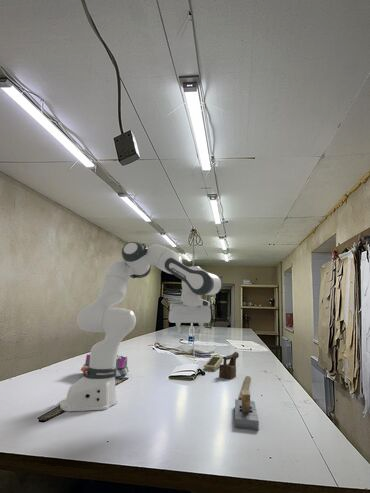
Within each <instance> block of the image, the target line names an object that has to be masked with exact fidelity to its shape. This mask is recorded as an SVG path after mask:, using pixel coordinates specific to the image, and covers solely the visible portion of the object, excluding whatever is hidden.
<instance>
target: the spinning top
mask: <svg viewBox="0 0 370 493" xmlns="http://www.w3.org/2000/svg"><path fill="white" fill-rule="evenodd" d="M89 364H90V353H89V354H86V358H85V362H84V364H83V365H82V367H86V368H87V367H89ZM116 367H117V375H116V377H122V376H124V375H127V374H128V373H129V372H130V370H129V367H128V356H123V355H118V354H117V359H116Z"/></svg>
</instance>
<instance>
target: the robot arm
mask: <svg viewBox="0 0 370 493" xmlns="http://www.w3.org/2000/svg"><path fill="white" fill-rule="evenodd" d="M121 256H122V259H123V260H115V261H113V262H112V263H111V264H110V265H109V267H108V269H107V271H106V274H105V277H104V281H103V284H102V287H101V290H100V292H99V293H98V296H97V297H96V298H95V299H94V300H93V301H92V302H91V303H89V304H88V305H87V306H85V307H83V308H81V310H80V311H79V312H78V314H77V317H76V324H77V326H78V328H79V329H80V330H81V331H85V332H87V333H97V334H98V333H100V334H105V336H104V339H103V340H100V341H98V342H97V343H95V344H93V345H92V346H91V349H90V353H89V354H90V364H89V367H87V368H86V367H83V366H82V367H81V368H80V371H81V372H82V373H83V376H82V377H81V378H80V379H79V380H77V381H76V382H74V383H72V384H71V386H69V388H68V391H67V394H66V397H65V398H62V399H61V400H60V402H59V407H60V409H61V410H63V411H64V412H83V411H102V410H108V409H109V408H110V407H113V406H115V405H116V403H117V402H118V398H117V394H116V392H117V391H116V380H117V376H116V375H117V367H116V359H117V355H118V353H119V352H118V350H119V346H120V345H121V342H122V341H123V339H124V338H125V337H126V336H127V335H128V334H130V333H131V332H132V331H133V330H134V329H135V326H136V325H137V317H136V315H135V312H134V311H133V310H131V309H128V308H123V307H115V305H118V304H119V303H120V304H121V302H122V301H123V300H124V299H125V297H126V292H127V288H128V285H129V279H130V278H131V279H142V278H146V277H147V276H148V275H149V274H151V271H152V266H154V267H156V268H157V269H159V270H161V271H163V272H165V273H167V274H168V275H169V274H170V275H173V276H175V277H176V278H178V279H179V280H181V289H182V291H181V294H180V295H181V296H180V300H179V301H175V300H174V301H171V302H170V303H169V312H168V321H169V323H173V324H174V323H175V326H176V328H177V333H178V334H181V335H182V334H183V329H182V328H181V325H182V323H183V324H187V323H188V324H189V323H190V324H198V328H196V332H195V333H196V334H201V333H202V329H203V327H204V324H209V323H211V319H212V313H211V312H212V311H211V308H210V306H211V302H210V301H207V300H206V299H203V298H202V297H201V296H203V295H205V296H213V295H216V294H218V293H219V292H220V291H221V289H222V280H221V279H220V277H219V276H218V275H216V274H214V273H212V272H209V271H207V270H204V269H203V268H201V267H200V266H198V265H190V266H187V265H186V264H184V263H183V258H182V256H181V255H180V254H179V253H177V252H176V251H174V249H171V248H169V247H166V246H165V245H161V244H159V243H153V244H151V245H150V246H149V247H148V246H147V245H146V244H145V243H141V242H138V241H131V242H127V243H125V244H124V245H123V246H122V248H121Z"/></svg>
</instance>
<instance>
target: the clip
mask: <svg viewBox="0 0 370 493" xmlns="http://www.w3.org/2000/svg"><path fill="white" fill-rule="evenodd" d="M250 401H251V393H250V390H248V391H246V390H242V412H249V413H250Z"/></svg>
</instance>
